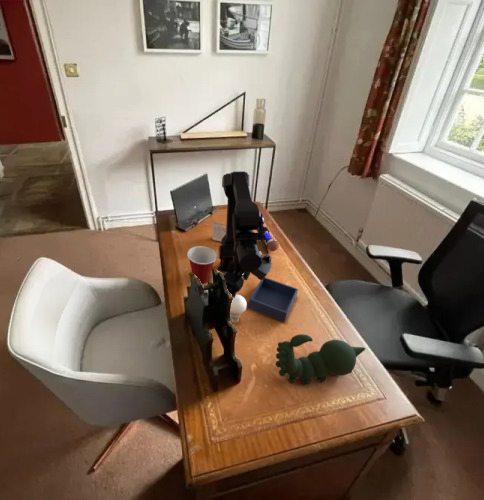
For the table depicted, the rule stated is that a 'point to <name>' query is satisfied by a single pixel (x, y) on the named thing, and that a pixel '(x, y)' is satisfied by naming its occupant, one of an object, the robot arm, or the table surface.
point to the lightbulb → (237, 308)
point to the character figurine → (268, 241)
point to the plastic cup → (202, 262)
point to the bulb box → (273, 299)
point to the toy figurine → (316, 359)
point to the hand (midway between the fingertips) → (239, 288)
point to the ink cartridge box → (218, 231)
